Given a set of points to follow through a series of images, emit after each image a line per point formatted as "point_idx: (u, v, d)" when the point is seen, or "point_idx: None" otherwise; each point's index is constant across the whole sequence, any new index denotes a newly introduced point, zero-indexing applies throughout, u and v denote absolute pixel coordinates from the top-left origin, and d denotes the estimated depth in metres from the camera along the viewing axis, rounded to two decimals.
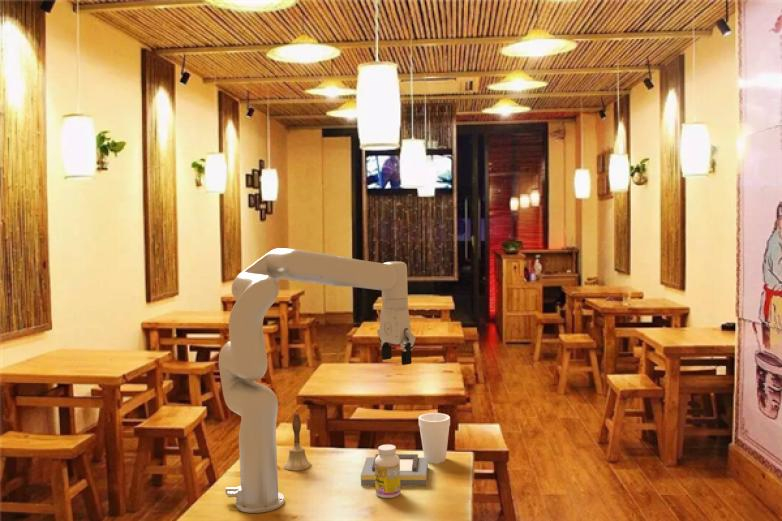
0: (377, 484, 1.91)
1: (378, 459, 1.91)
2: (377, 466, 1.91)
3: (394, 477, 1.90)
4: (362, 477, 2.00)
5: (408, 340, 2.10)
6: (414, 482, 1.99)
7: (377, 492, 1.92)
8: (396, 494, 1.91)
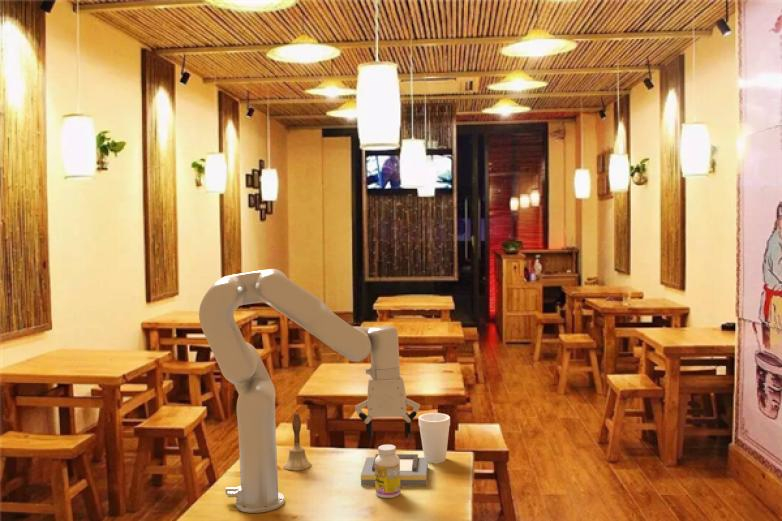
0: (377, 484, 1.91)
1: (378, 459, 1.91)
2: (377, 466, 1.91)
3: (394, 477, 1.90)
4: (362, 477, 2.00)
5: None
6: (414, 482, 1.99)
7: (377, 492, 1.92)
8: (396, 494, 1.91)
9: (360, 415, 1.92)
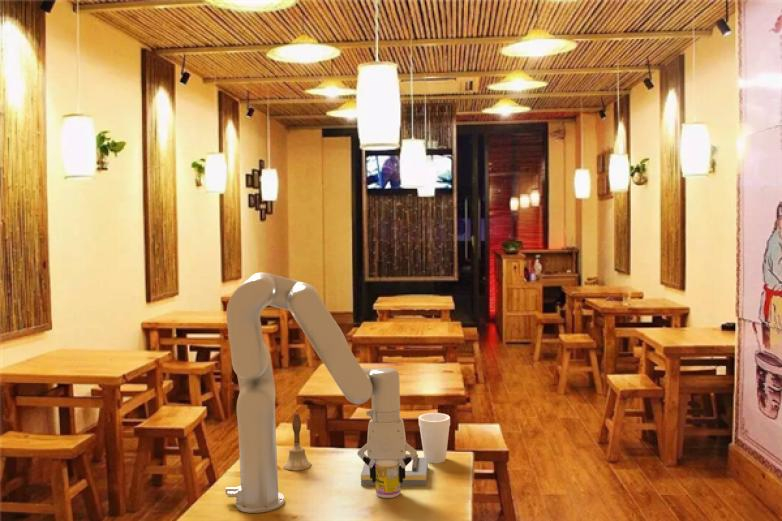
0: (377, 484, 1.91)
1: None
2: (377, 466, 1.91)
3: (394, 477, 1.90)
4: (362, 477, 2.00)
5: None
6: (414, 482, 1.99)
7: (377, 492, 1.92)
8: (396, 494, 1.91)
9: (364, 459, 1.92)
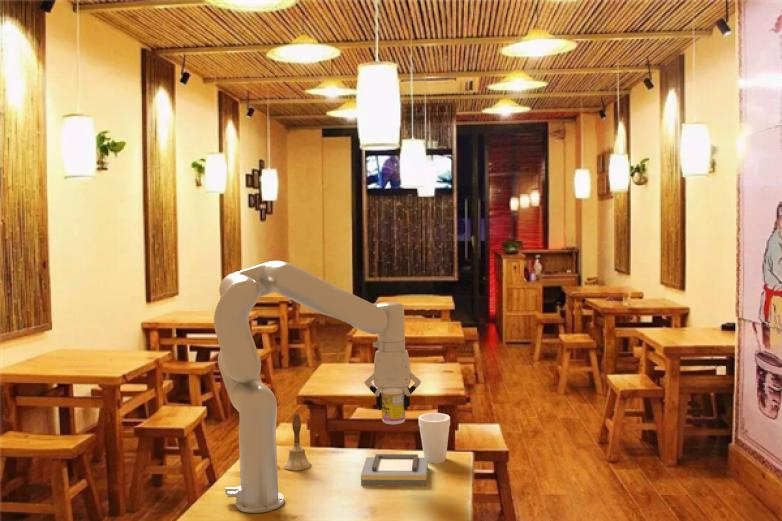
0: (383, 411, 2.02)
1: None
2: (383, 394, 2.02)
3: (399, 404, 2.01)
4: (362, 477, 2.00)
5: None
6: (414, 482, 1.99)
7: (383, 418, 2.03)
8: (401, 420, 2.02)
9: (371, 388, 2.03)
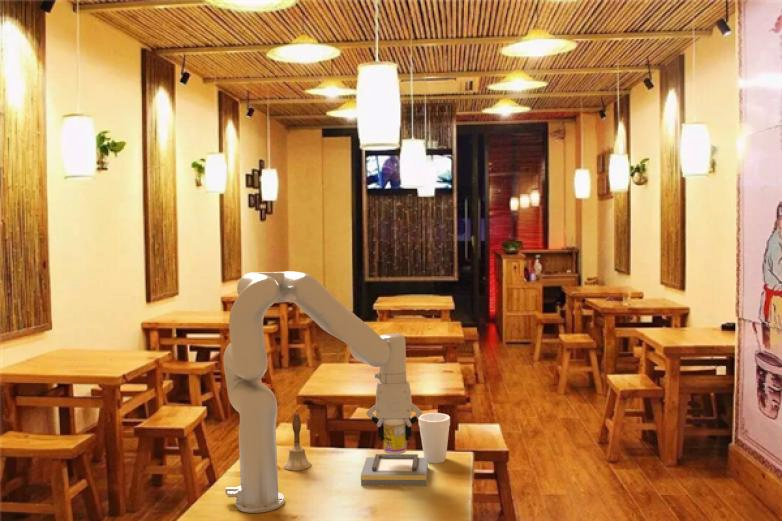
0: (385, 442, 2.05)
1: None
2: (385, 425, 2.04)
3: (401, 435, 2.04)
4: (362, 477, 2.00)
5: None
6: (414, 482, 1.99)
7: (385, 449, 2.05)
8: (403, 451, 2.04)
9: (373, 419, 2.06)
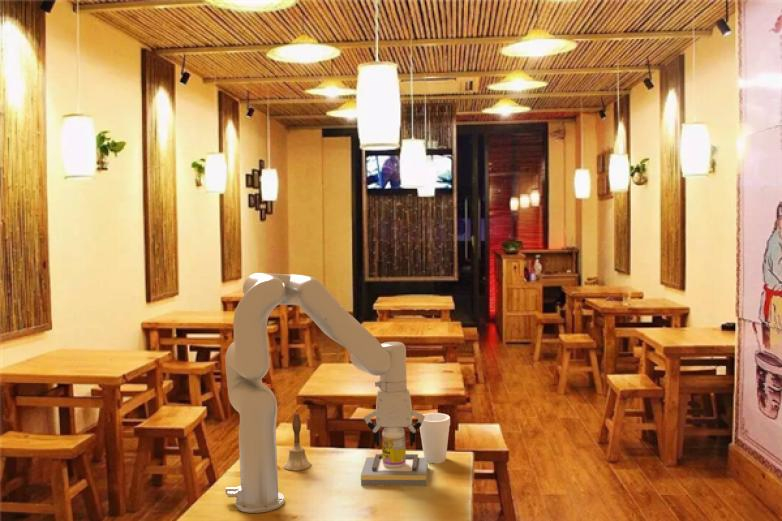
0: (384, 455, 2.05)
1: (385, 431, 2.05)
2: (384, 438, 2.04)
3: (400, 448, 2.04)
4: (362, 477, 2.00)
5: None
6: (414, 482, 1.99)
7: (384, 462, 2.05)
8: (402, 464, 2.04)
9: (369, 424, 2.06)
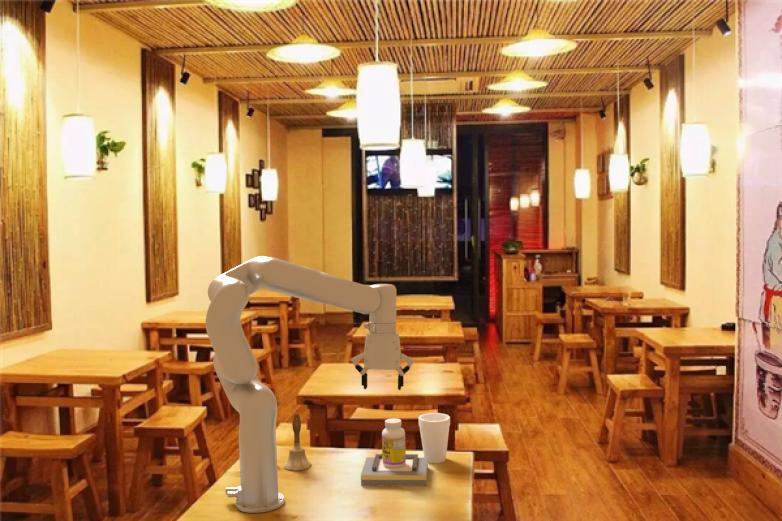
0: (384, 455, 2.05)
1: (385, 431, 2.05)
2: (384, 438, 2.04)
3: (400, 448, 2.04)
4: (362, 477, 2.00)
5: None
6: (414, 482, 1.99)
7: (384, 462, 2.05)
8: (402, 464, 2.04)
9: (356, 367, 2.03)
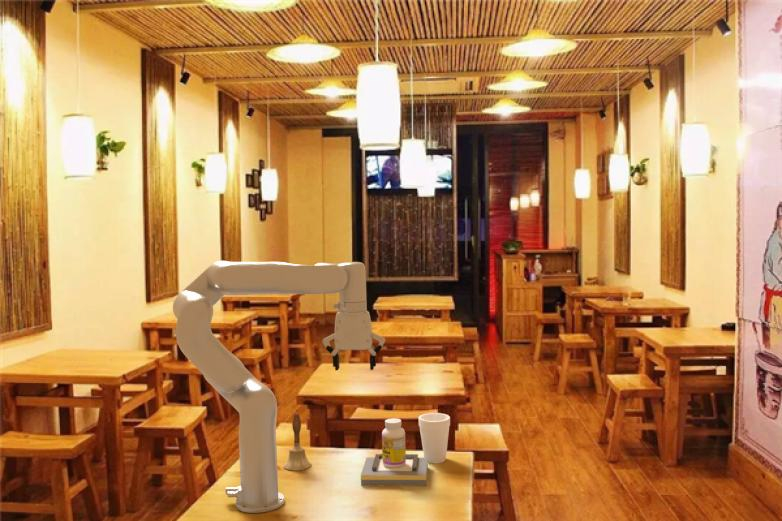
0: (384, 455, 2.05)
1: (385, 431, 2.05)
2: (384, 438, 2.04)
3: (400, 448, 2.04)
4: (362, 477, 2.00)
5: None
6: (414, 482, 1.99)
7: (384, 462, 2.05)
8: (402, 464, 2.04)
9: (327, 348, 1.98)
